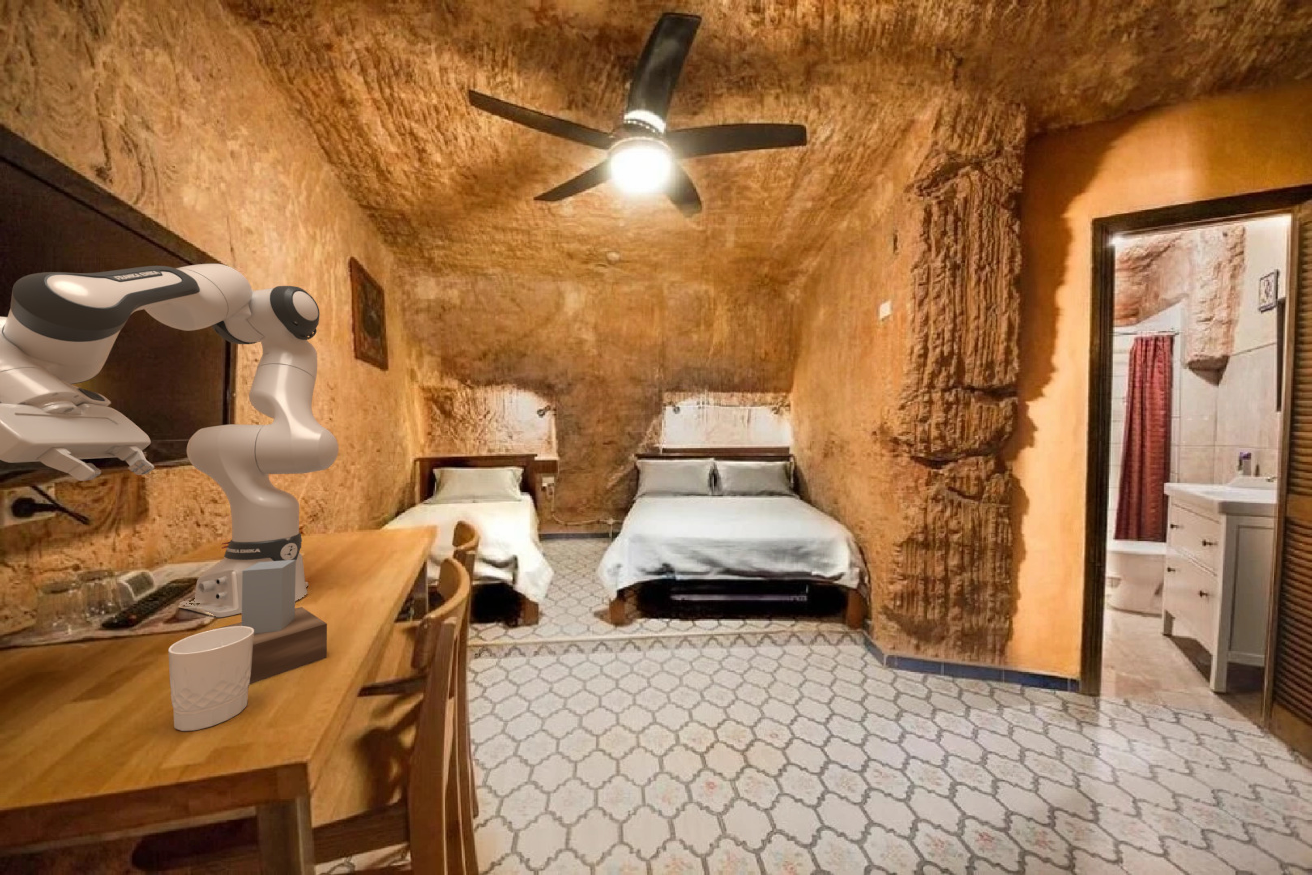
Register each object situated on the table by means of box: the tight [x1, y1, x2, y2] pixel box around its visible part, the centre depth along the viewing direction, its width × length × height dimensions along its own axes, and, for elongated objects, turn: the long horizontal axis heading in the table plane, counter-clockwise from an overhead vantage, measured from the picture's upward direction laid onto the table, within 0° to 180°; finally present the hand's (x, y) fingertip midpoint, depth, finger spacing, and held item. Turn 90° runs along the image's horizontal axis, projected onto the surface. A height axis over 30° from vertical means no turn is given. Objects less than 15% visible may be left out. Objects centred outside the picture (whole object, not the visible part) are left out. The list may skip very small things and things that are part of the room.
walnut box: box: [207, 606, 328, 685], centre depth 71 cm, size 12×12×6 cm
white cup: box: [167, 626, 254, 732], centre depth 57 cm, size 8×8×10 cm
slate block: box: [241, 560, 296, 634], centre depth 71 cm, size 5×5×10 cm
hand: (121, 474), depth 63 cm, fingers open, 8 cm apart
